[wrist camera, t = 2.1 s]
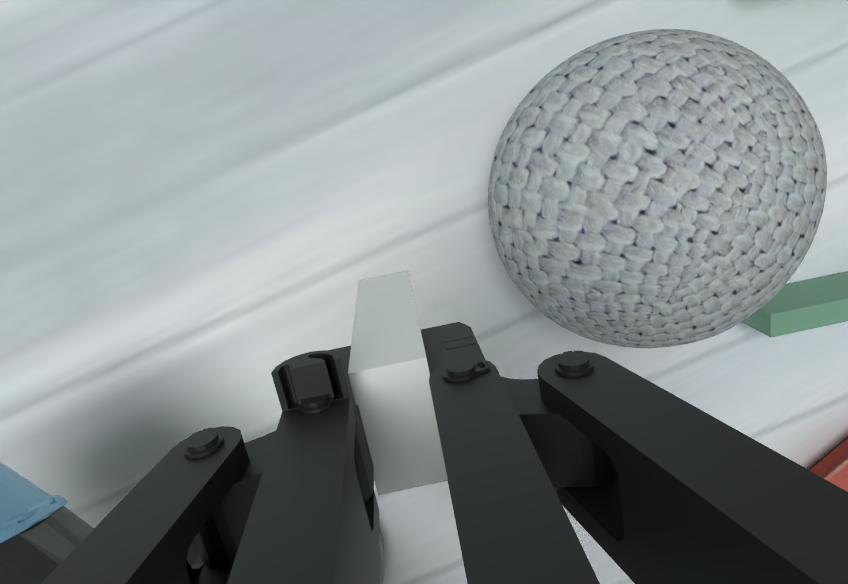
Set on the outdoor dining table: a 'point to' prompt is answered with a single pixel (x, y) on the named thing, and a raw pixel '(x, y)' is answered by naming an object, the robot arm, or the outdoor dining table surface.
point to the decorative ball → (657, 188)
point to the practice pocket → (804, 306)
